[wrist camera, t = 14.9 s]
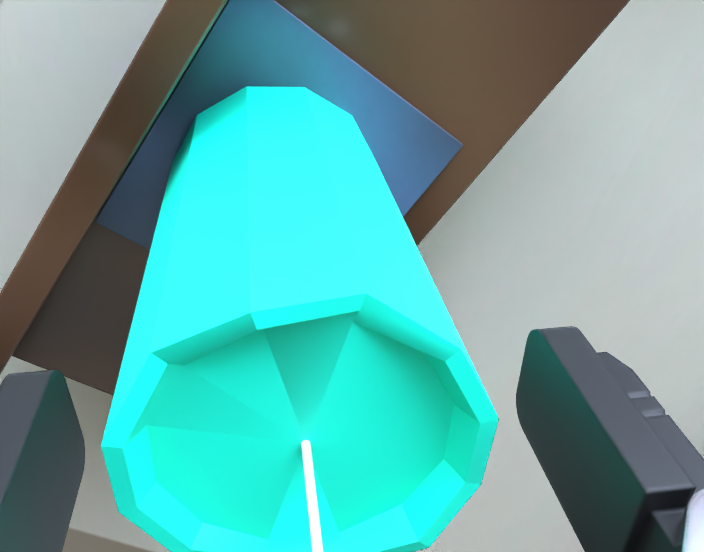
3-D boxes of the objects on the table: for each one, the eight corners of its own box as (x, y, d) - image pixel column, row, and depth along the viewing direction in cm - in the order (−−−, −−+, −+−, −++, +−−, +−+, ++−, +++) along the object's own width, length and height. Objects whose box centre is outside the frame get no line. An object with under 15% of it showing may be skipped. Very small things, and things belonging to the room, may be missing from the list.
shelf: (243, 336, 30) (243, 512, 22) (34, 236, 26) (-66, 408, 17) (537, -36, 23) (706, 11, 15) (317, -258, 19) (376, -370, 10)
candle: (417, 184, 19) (615, 527, 9) (278, 305, 20) (312, 710, 10) (275, 34, 16) (329, 289, 6) (125, 188, 18) (-29, 593, 8)
